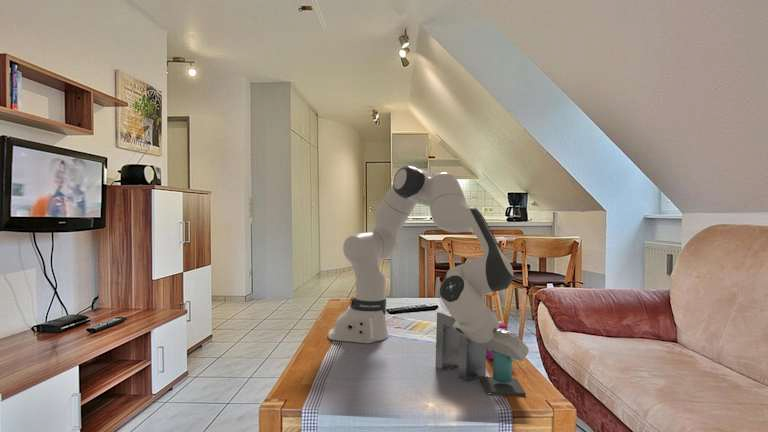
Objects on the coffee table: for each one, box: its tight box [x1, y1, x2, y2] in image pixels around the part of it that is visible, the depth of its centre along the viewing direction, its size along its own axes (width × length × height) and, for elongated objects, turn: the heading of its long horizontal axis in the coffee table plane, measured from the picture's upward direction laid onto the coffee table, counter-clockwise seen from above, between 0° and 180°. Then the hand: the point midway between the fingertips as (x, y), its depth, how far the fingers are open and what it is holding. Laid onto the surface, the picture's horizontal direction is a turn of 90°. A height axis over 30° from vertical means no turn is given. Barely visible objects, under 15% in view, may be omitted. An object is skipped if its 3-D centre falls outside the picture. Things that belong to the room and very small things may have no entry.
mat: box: [480, 376, 526, 397], centre depth 121 cm, size 10×10×1 cm
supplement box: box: [486, 320, 508, 361], centre depth 145 cm, size 6×6×12 cm
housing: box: [435, 310, 487, 382], centre depth 131 cm, size 8×13×19 cm, turn 34°
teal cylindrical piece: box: [492, 351, 513, 383], centre depth 121 cm, size 5×5×12 cm
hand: (504, 355), depth 121 cm, fingers closed on teal cylindrical piece, 5 cm apart
